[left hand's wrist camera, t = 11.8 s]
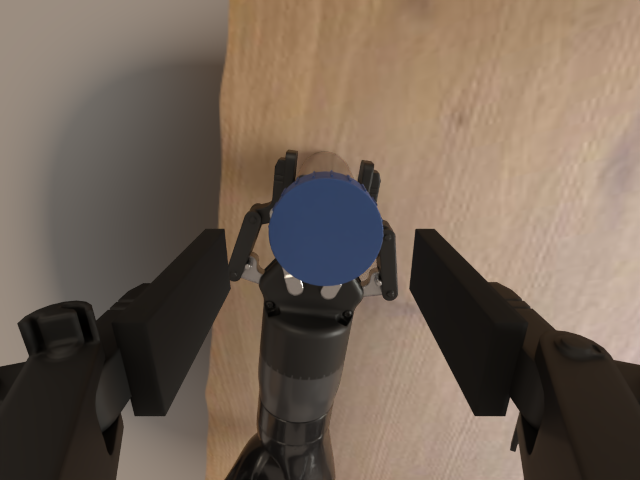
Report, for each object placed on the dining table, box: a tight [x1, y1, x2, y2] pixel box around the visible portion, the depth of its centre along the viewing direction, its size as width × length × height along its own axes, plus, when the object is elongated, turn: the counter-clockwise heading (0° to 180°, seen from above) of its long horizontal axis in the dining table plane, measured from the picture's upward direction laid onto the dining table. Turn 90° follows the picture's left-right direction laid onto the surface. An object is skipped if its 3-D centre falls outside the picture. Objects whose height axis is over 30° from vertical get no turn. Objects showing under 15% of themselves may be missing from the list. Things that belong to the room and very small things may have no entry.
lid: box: [268, 170, 383, 286], centre depth 17 cm, size 6×6×2 cm
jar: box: [295, 152, 354, 181], centre depth 24 cm, size 5×5×15 cm
